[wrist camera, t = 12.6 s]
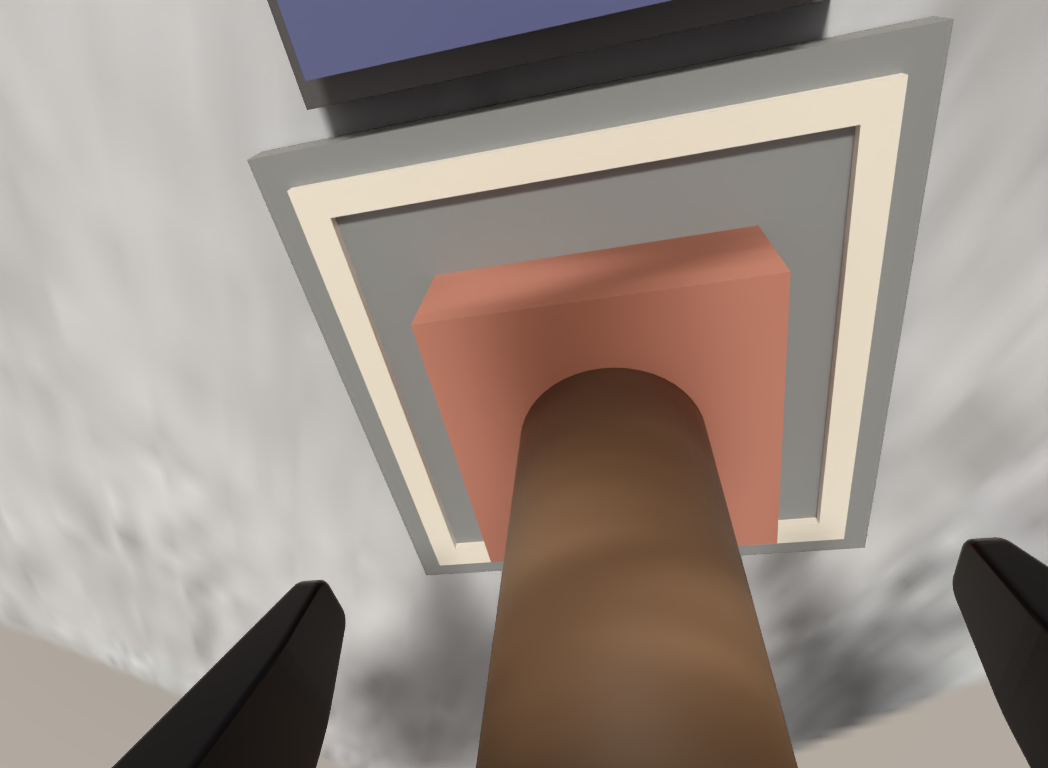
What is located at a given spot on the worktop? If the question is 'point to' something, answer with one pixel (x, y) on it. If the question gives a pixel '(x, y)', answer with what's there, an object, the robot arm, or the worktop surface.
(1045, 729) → the robot arm
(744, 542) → the stamp
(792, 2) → the ink pad
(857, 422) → the marked board
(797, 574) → the worktop surface
